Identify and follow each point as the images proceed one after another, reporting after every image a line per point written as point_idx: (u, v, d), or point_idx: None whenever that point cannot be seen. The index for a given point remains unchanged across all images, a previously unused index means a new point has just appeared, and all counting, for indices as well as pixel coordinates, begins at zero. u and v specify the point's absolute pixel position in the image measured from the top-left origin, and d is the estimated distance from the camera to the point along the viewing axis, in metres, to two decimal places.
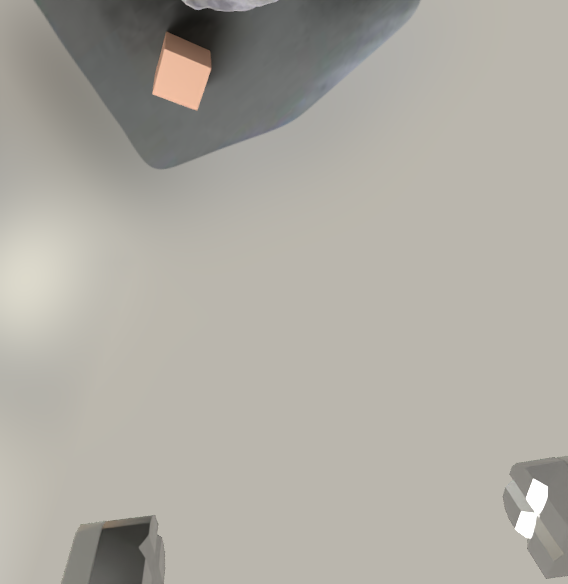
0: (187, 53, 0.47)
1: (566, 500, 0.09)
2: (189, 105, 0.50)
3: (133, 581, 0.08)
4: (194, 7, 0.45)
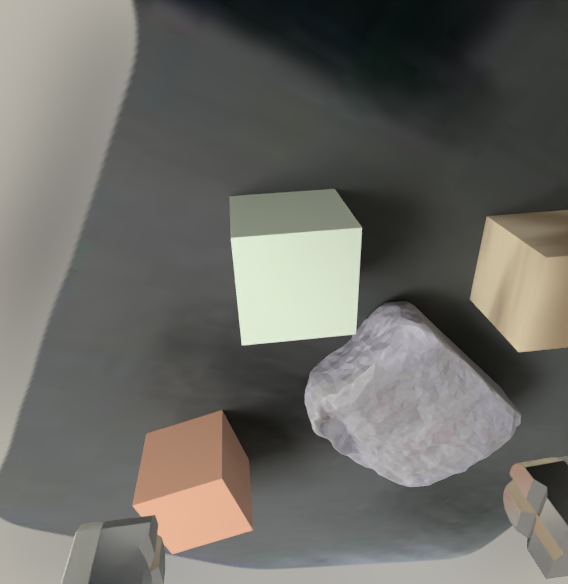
0: (236, 484, 0.26)
1: (566, 500, 0.09)
2: (169, 544, 0.26)
3: (133, 581, 0.08)
4: (316, 430, 0.26)
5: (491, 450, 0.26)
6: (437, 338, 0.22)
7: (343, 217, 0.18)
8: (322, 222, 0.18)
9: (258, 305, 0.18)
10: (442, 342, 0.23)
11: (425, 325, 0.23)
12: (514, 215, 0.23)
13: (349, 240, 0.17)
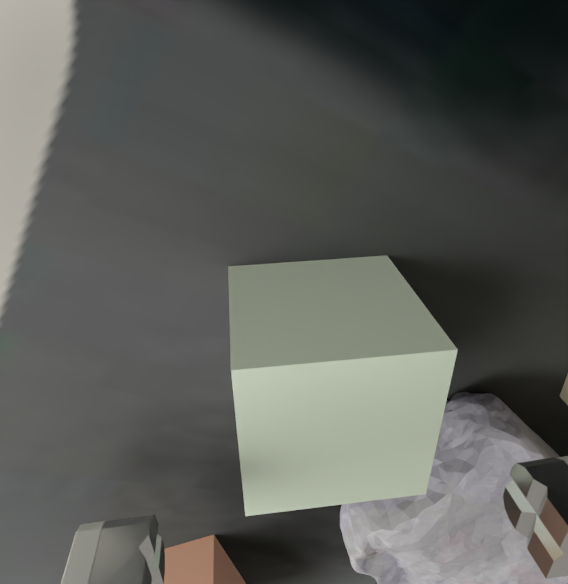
0: None
1: (566, 500, 0.09)
2: None
3: (133, 581, 0.08)
4: (357, 568, 0.18)
5: None
6: None
7: (418, 321, 0.11)
8: (386, 334, 0.10)
9: (275, 463, 0.11)
10: None
11: (528, 440, 0.15)
12: None
13: (433, 369, 0.10)
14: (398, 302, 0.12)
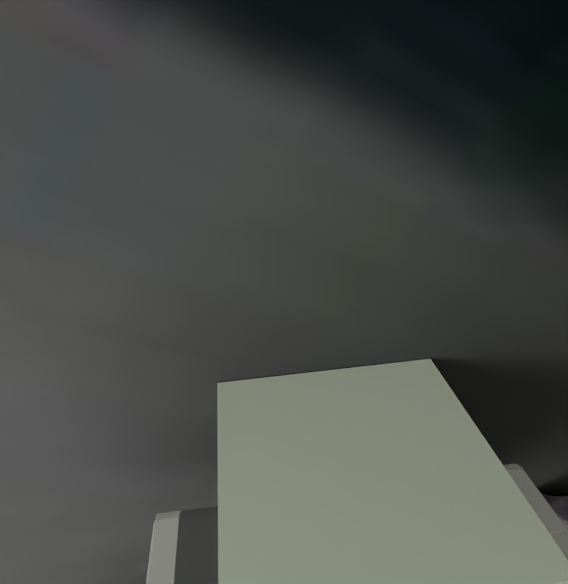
0: None
1: None
2: None
3: None
4: None
5: None
6: None
7: (502, 505, 0.07)
8: (460, 541, 0.07)
9: None
10: None
11: None
12: None
13: None
14: (465, 461, 0.08)
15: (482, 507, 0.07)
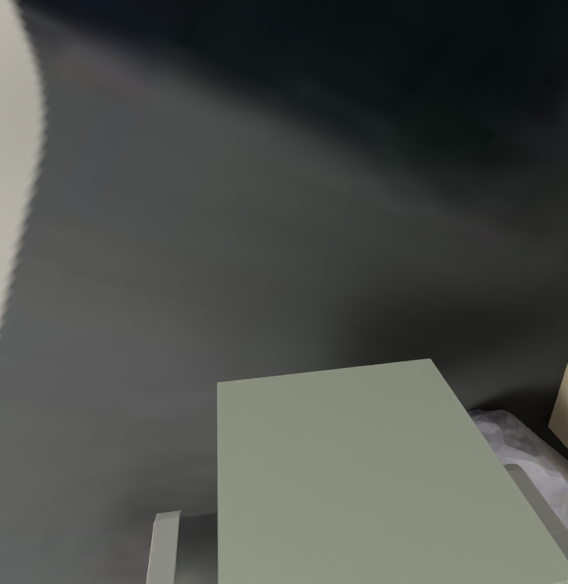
0: None
1: None
2: None
3: None
4: None
5: None
6: (565, 478, 0.15)
7: (502, 504, 0.07)
8: (459, 540, 0.07)
9: None
10: None
11: (545, 458, 0.15)
12: None
13: None
14: (464, 460, 0.08)
15: (482, 506, 0.07)
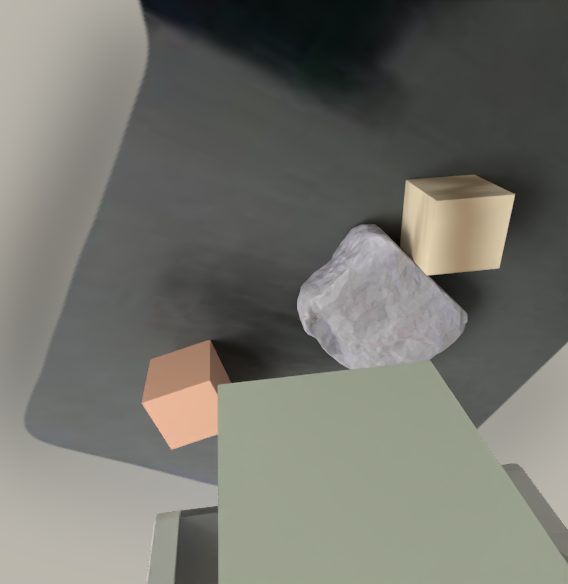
0: None
1: None
2: (169, 440, 0.33)
3: None
4: (307, 329, 0.33)
5: (444, 342, 0.33)
6: (395, 245, 0.30)
7: (502, 506, 0.07)
8: (458, 542, 0.07)
9: None
10: (399, 248, 0.30)
11: (386, 236, 0.30)
12: (426, 179, 0.31)
13: None
14: (464, 463, 0.08)
15: (481, 509, 0.07)
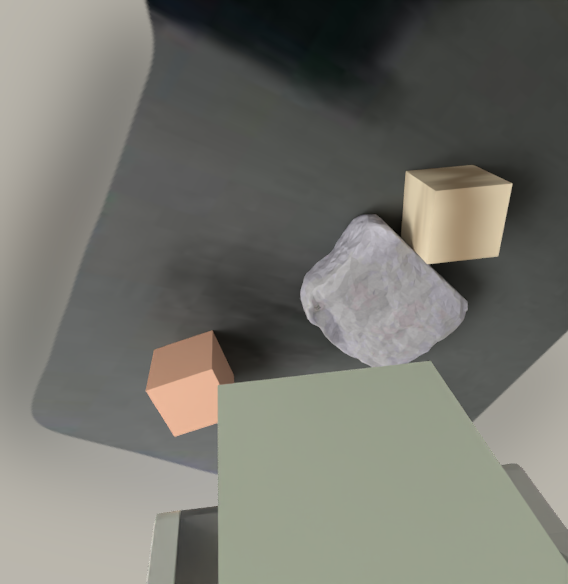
0: (223, 381, 0.34)
1: None
2: (172, 427, 0.34)
3: None
4: (310, 318, 0.34)
5: (445, 330, 0.34)
6: (395, 234, 0.30)
7: (502, 507, 0.07)
8: (459, 543, 0.07)
9: None
10: (399, 238, 0.31)
11: (386, 226, 0.30)
12: (425, 169, 0.32)
13: None
14: (464, 463, 0.08)
15: (481, 509, 0.07)
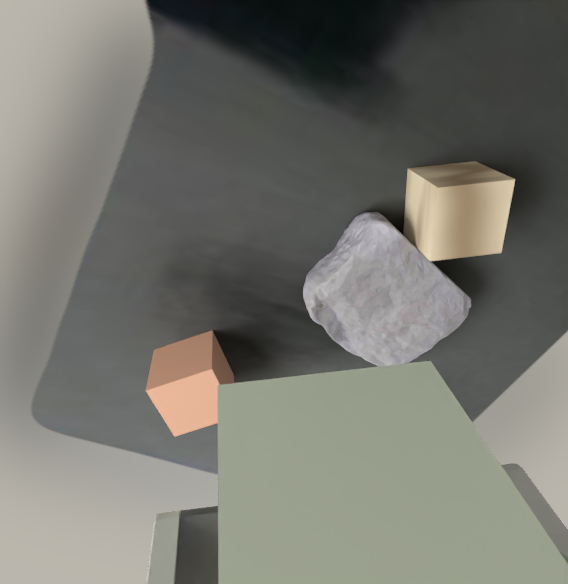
0: (223, 381, 0.34)
1: None
2: (172, 427, 0.34)
3: None
4: (313, 317, 0.34)
5: (449, 327, 0.34)
6: (398, 232, 0.30)
7: (502, 507, 0.07)
8: (459, 543, 0.07)
9: None
10: (402, 235, 0.30)
11: (388, 223, 0.30)
12: (427, 166, 0.32)
13: None
14: (464, 463, 0.08)
15: (481, 509, 0.07)
